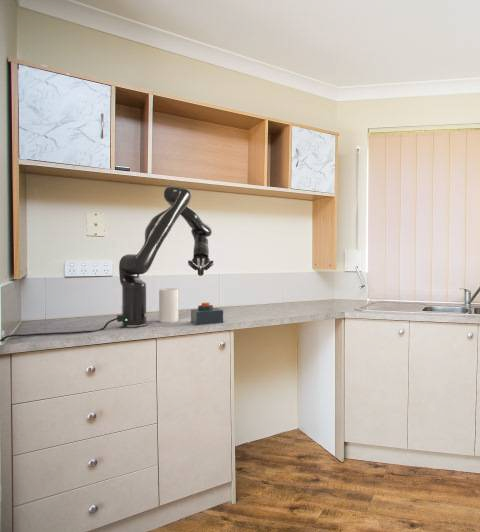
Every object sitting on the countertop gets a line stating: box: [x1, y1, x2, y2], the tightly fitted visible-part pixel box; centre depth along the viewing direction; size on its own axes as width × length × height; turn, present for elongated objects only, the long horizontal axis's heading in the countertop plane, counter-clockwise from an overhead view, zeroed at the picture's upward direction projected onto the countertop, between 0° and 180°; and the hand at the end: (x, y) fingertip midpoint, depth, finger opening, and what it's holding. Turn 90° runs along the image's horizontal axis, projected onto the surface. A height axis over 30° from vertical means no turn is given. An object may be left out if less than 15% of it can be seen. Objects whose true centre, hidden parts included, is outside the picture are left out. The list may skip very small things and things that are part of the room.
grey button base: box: [190, 304, 224, 326], centre depth 194 cm, size 12×12×8 cm
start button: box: [200, 302, 211, 306], centre depth 195 cm, size 4×4×2 cm
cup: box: [158, 288, 179, 323], centre depth 195 cm, size 8×8×16 cm
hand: (200, 274), depth 208 cm, fingers closed
